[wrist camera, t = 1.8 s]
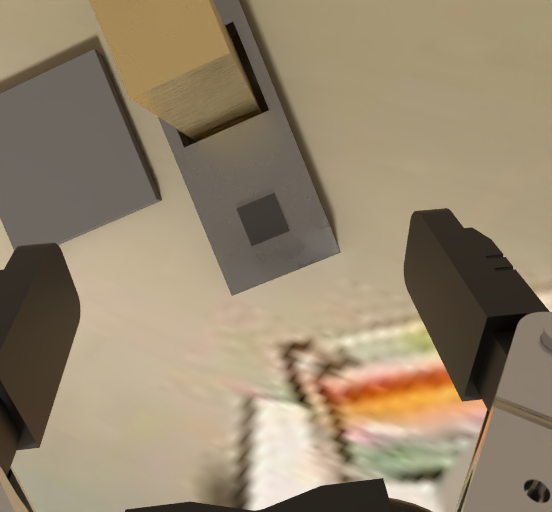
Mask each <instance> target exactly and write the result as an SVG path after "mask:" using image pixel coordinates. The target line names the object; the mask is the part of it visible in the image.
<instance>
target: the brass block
mask: <svg viewBox="0 0 552 512" xmlns="http://www.w3.org/2000/svg"><path fill="white" fill-rule="evenodd" d="M90 3H91V5H92V8H93V10H94V13H95V15H96V17H97V20H98V22H99V25H100V27H101V29H102V32H103V34H104V37H105V39H106V42H107V44H108V46H109V49H110V51H111V54H112V56H113V58H114V61H115V63H116V66H117V68H118V71H119V73H120V75H121V78H122V80H123V83H124V85H125V87H126V90H127V92H128V95H129V97H130V99H132V100H133V101H135V102H136V103H138V104H139V105H141V106H142V107H144V108H146V109H147V110H149V111H150V112H152V113H153V114H155V115H156V116H158V117H159V118H161V119H162V120H164V121H165V122H167V123H169V124H170V125H172V126H173V127H175V128H176V129H178V130H179V131H181V132H182V133H184V134H185V135H187V136H189V137H190V138H192V139H193V140H195V141H196V142H198V141H200V140H203V139H205V138H207V137H210V136H212V135H214V134H216V133H219V132H221V131H223V130H225V129H228V128H230V127H232V126H235V125H237V124H239V123H241V122H244V121H246V120H248V119H250V118H253V117H255V116H257V115H260V114H262V112H261V109H260V107H259V104H258V102H257V99H256V97H255V94H254V92H253V89H252V87H251V84H250V82H249V80H248V77H247V75H246V72H245V70H244V67H243V65H242V62H241V60H240V57H239V55H238V52H237V50H236V47H235V45H234V43H233V41H232V39H231V37H230V35H229V33H228V31H227V29H226V26H225V24H224V22H223V20H222V18H221V16H220V14H219V12H218V10H217V8H216V6H215V4H214V2H213V0H90Z"/></svg>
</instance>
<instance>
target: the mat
mask: <svg viewBox="0 0 552 512" xmlns="http://www.w3.org/2000/svg"><path fill="white" fill-rule="evenodd" d="M159 201H161V197H160V195H159V192H158V190H157V188H156V185H155V183H154V180H153V178H152V175H151V173H150V171H149V168H148V166H147V163H146V161H145V159H144V156H143V154H142V151H141V149H140V147H139V144H138V142H137V139H136V137H135V134H134V132H133V130H132V127H131V125H130V122H129V120H128V118H127V115H126V113H125V110H124V108H123V106H122V103H121V101H120V98H119V96H118V93H117V91H116V89H115V86H114V84H113V81H112V79H111V77H110V74H109V72H108V69H107V67H106V65H105V62H104V60H103V57H102V55H101V54H100V53H99V52H97V51H96V50H95V49H93V50H91V51H89V52H87V53H85V54H82V55H80V56H78V57H76V58H74V59H72V60H70V61H68V62H66V63H63V64H61V65H59V66H57V67H55V68H53V69H51V70H49V71H47V72H45V73H42V74H40V75H38V76H36V77H34V78H32V79H30V80H28V81H26V82H24V83H21V84H19V85H17V86H15V87H13V88H11V89H9V90H7V91H5V92H3V93H0V218H1V221H2V223H3V225H4V228H5V230H6V232H7V235H8V237H9V239H10V242H11V244H12V246H13V249H14V251H15V249H16V248H17V247H18V246H22V245H33V244H44V243H56V244H57V245H59V244H61V243H64V242H66V241H68V240H71V239H73V238H75V237H78V236H80V235H82V234H84V233H87V232H89V231H91V230H94V229H96V228H98V227H101V226H103V225H105V224H108V223H110V222H112V221H115V220H117V219H119V218H122V217H124V216H126V215H129V214H131V213H133V212H136V211H138V210H140V209H143V208H145V207H147V206H150V205H152V204H154V203H157V202H159Z"/></svg>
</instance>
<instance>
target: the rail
mask: <svg viewBox="0 0 552 512" xmlns="http://www.w3.org/2000/svg"><path fill="white" fill-rule="evenodd" d="M213 2H214V4H215V6H216V8H217V10H218V12H219V14H220V16H221V18H222V20H223V22H224V24H225V26H226V29H227V31H228V33H229V35H230V37H231V38H233V37H235V36H237V35H239V37H240V39H241V42H242V44H243V47H244V49H245V52H246V54H247V56H248V59H249V61H250V64H251V66H252V69H253V71H254V74H255V76H256V79H257V81H258V84H259V86H260V89H261V91H262V94H263V96H264V98H265V101H266V103H267V106H268V108H269V111H266V112H264V113H262V114H260V115H257V116H255V117H253V118H250V119H248V120H246V121H244V122H241V123H239V124H237V125H235V126H232V127H230V128H228V129H225V130H223V131H221V132H219V133H216V134H214V135H212V136H210V137H207V138H205V139H203V140H200V141H198V142H196V143H194V144H191V145H190V144H189V142H188V139H187V137H186V135H185V134H184V133H182V132H181V131H179V130H178V129H176V128H175V127H173V126H172V125H170V124H169V123H167V122H165V121H164V120H162V119H161V118H159V117H158V118H159V120H160V123H161V125H162V128H163V130H164V133H165V135H166V137H167V140H168V142H169V145H170V147H171V149H172V152H173V154H174V157H175V159H176V162H177V164H178V166H179V169H180V171H181V174H182V176H183V179H184V181H185V183H186V186H187V188H188V191H189V193H190V196H191V198H192V200H193V203H194V205H195V208H196V210H197V213H198V215H199V217H200V220H201V222H202V225H203V227H204V229H205V232H206V234H207V237H208V239H209V242H210V244H211V246H212V249H213V251H214V254H215V256H216V259H217V261H218V263H219V266H220V268H221V271H222V273H223V276H224V278H225V280H226V283H227V285H228V288H229V290H230V292H231V295H232V296H233V295H235V294H238V293H240V292H243V291H245V290H248V289H250V288H253V287H255V286H258V285H260V284H263V283H265V282H268V281H270V280H273V279H275V278H278V277H280V276H283V275H285V274H288V273H290V272H293V271H295V270H298V269H300V268H303V267H305V266H308V265H310V264H313V263H315V262H318V261H320V260H323V259H325V258H328V257H330V256H333V255H335V254H338V253H340V250H339V247H338V245H337V242H336V240H335V237H334V235H333V232H332V230H331V227H330V225H329V222H328V220H327V217H326V215H325V212H324V210H323V207H322V205H321V202H320V200H319V198H318V195H317V193H316V190H315V188H314V185H313V183H312V180H311V178H310V175H309V173H308V170H307V168H306V165H305V163H304V160H303V158H302V155H301V153H300V150H299V148H298V146H297V143H296V141H295V138H294V136H293V133H292V131H291V128H290V126H289V123H288V121H287V118H286V116H285V113H284V111H283V108H282V106H281V103H280V101H279V98H278V96H277V94H276V91H275V89H274V86H273V84H272V81H271V79H270V76H269V74H268V71H267V69H266V66H265V64H264V61H263V59H262V56H261V54H260V51H259V49H258V46H257V44H256V42H255V39H254V37H253V34H252V32H251V29H250V27H249V24H248V22H247V19H246V17H245V14H244V12H243V9H242V7H241V4H240V2H239V0H213Z"/></svg>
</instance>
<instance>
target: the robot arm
mask: <svg viewBox="0 0 552 512" xmlns="http://www.w3.org/2000/svg"><path fill="white" fill-rule="evenodd" d="M404 279H405V284H406V287H407V290H408V292H409V294H410V296H411V299H412V301H413V303H414V305H415V307H416V309H417V311H418V313H419V315H420V317H421V319H422V321H423V323H424V325H425V327H426V329H427V331H428V333H429V335H430V337H431V339H432V341H433V343H434V345H435V347H436V349H437V351H438V353H439V356H440V358H441V360H442V362H443V364H444V366H445V368H446V370H447V372H448V374H449V376H450V378H451V380H452V382H453V384H454V386H455V388H456V390H457V392H458V394H459V396H460V398H461V400H462V401H470V400H479V399H482V400H483V402H484V404H485V405H486V407H487V412H486V415H485V417H484V421H483V424H482V427H481V430H480V433H479V437H478V440H477V443H476V446H475V450H474V453H473V456H472V459H471V462H470V466H469V469H468V472H467V475H466V479H465V482H464V485H463V488H462V491H461V494H460V497H459V500H458V503H457V506H456V510H455V512H552V312H549V310H548V309H547V308H546V307H545V305H544V304H543V303H542V302H541V300H540V299H539V298H538V297H537V295H536V294H535V293H534V292H533V291H532V289H531V288H530V287H529V286H528V284H527V283H526V282H525V281H524V279H523V278H522V277H521V276H520V274H519V273H518V272H517V271H516V270H513V266H512V265H511V263H510V262H509V261H508V260H507V258H506V257H503V253H502V252H501V251H500V250H499V248H498V247H497V246H496V245H495V244H494V242H493V241H492V240H491V239H490V238H488V237H486V236H485V235H483V234H482V233H480V232H478V231H477V230H475V229H474V228H463V226H462V225H461V224H460V222H459V221H458V220H457V218H456V217H455V216H454V214H453V213H452V212H451V211H450V210H449V209H447V208H445V209H434V210H423V211H415V212H414V213H413V214H412V216H411V220H410V227H409V234H408V241H407V247H406V254H405V261H404ZM79 320H80V301H79V297H78V294H77V291H76V288H75V286H74V283H73V280H72V278H71V275H70V272H69V269H68V267H67V264H66V261H65V259H64V256H63V253H62V251H61V249H60V247H59V246H58V245H57V244H56V243H44V244H33V245H22V246H18V247H17V248H16V249H15V251H14V253H13V254H12V256H11V258H10V260H9V261H8V263H7V265H6V267H5V269H4V270H0V512H36V511H35V509H34V508H33V506H32V504H31V502H30V500H29V498H28V496H27V494H26V492H25V491H24V489H23V487H22V485H21V483H20V481H19V479H18V477H17V475H16V474H15V472H14V470H13V469H12V467H11V464H12V461H13V458H14V456H15V453H16V450H23V449H32V448H40V444H41V441H42V438H43V435H44V432H45V429H46V425H47V422H48V419H49V416H50V413H51V410H52V406H53V403H54V400H55V397H56V394H57V391H58V387H59V384H60V381H61V378H62V375H63V372H64V368H65V365H66V362H67V359H68V356H69V353H70V349H71V346H72V343H73V340H74V337H75V334H76V331H77V327H78V324H79ZM125 512H432V511H430V510H428V509H426V508H423V507H421V506H418V505H416V504H413V503H409V502H406V501H402V500H398V499H393V498H389V497H388V494H387V490H386V487H385V483H384V480H383V478H382V479H373V480H365V481H357V482H349V483H340V484H332V485H324V486H320V487H317V488H315V489H312V490H310V491H307V492H305V493H302V494H300V495H297V496H295V497H292V498H290V499H287V500H285V501H282V502H280V503H277V504H275V505H272V506H270V507H267V508H265V509H262V510H257V511H251V510H244V509H237V508H230V507H223V506H216V505H209V504H202V503H195V502H184V503H176V504H168V505H160V506H151V507H143V508H135V509H127V510H125Z"/></svg>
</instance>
